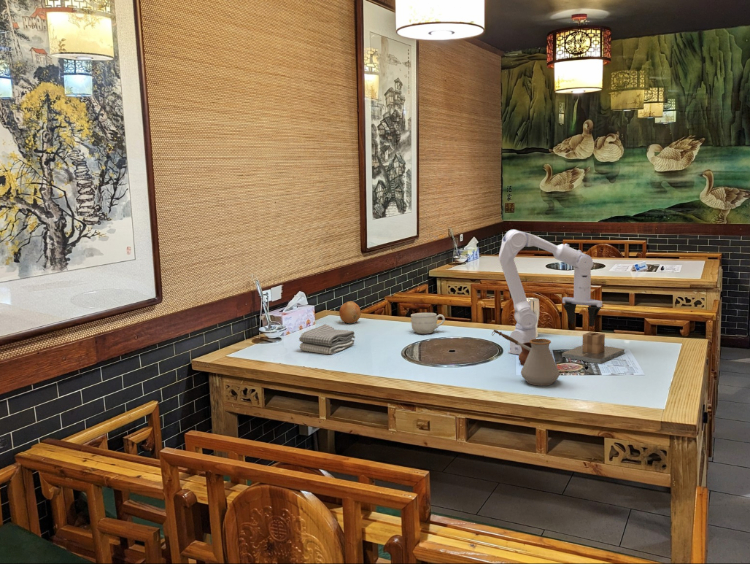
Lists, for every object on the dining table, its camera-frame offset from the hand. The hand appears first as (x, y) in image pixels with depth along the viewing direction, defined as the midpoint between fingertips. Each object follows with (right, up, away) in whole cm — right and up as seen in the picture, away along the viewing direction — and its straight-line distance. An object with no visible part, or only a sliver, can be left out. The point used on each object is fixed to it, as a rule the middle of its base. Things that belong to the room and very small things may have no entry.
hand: (581, 324), depth 241 cm
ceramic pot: (-21, -13, -14) cm, 29 cm away
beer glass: (-13, -7, +25) cm, 29 cm away
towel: (-92, -11, +17) cm, 94 cm away
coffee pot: (-28, -15, -33) cm, 45 cm away
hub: (+2, -10, -6) cm, 12 cm away
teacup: (-52, -6, +38) cm, 65 cm away
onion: (-85, -4, +63) cm, 106 cm away
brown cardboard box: (+2, -9, -7) cm, 11 cm away
